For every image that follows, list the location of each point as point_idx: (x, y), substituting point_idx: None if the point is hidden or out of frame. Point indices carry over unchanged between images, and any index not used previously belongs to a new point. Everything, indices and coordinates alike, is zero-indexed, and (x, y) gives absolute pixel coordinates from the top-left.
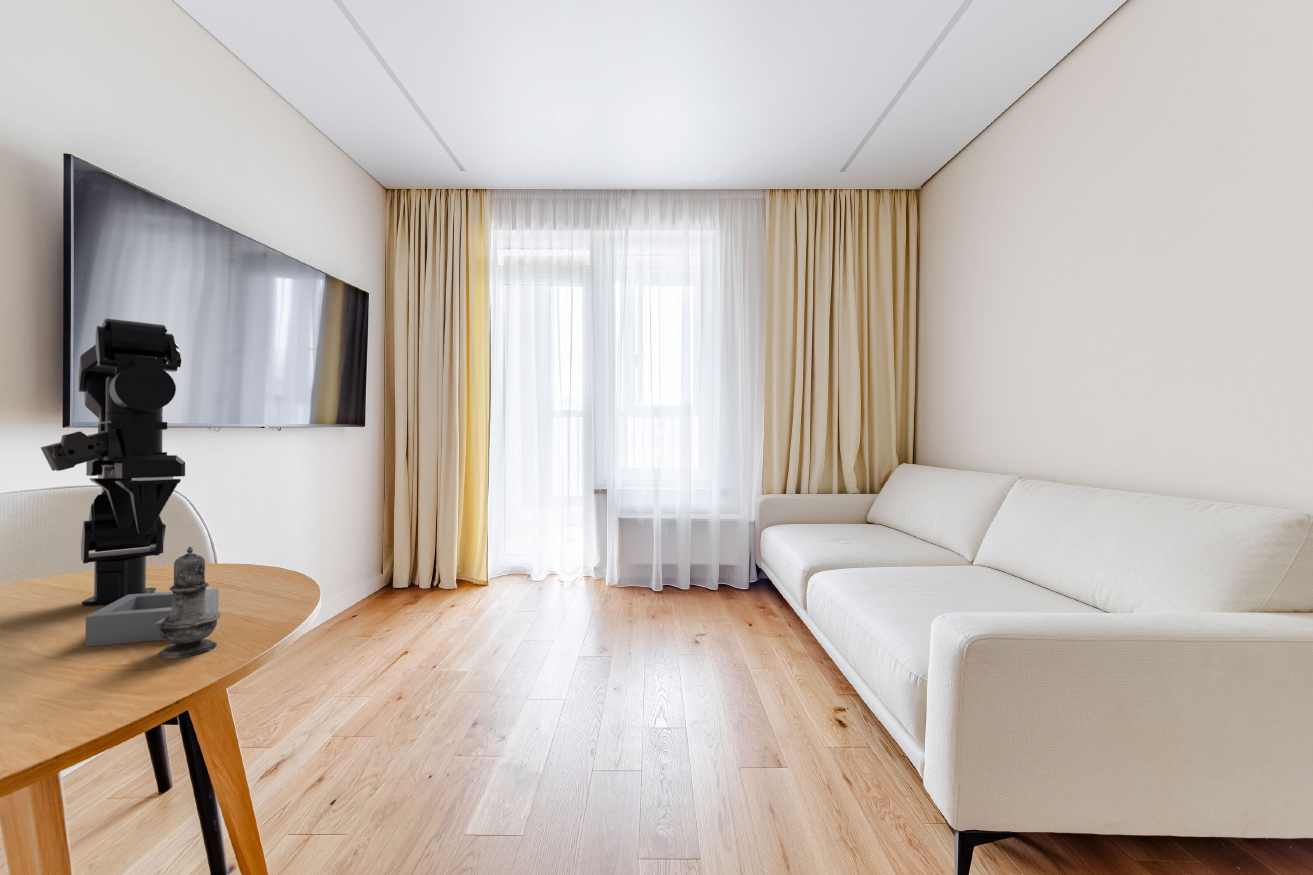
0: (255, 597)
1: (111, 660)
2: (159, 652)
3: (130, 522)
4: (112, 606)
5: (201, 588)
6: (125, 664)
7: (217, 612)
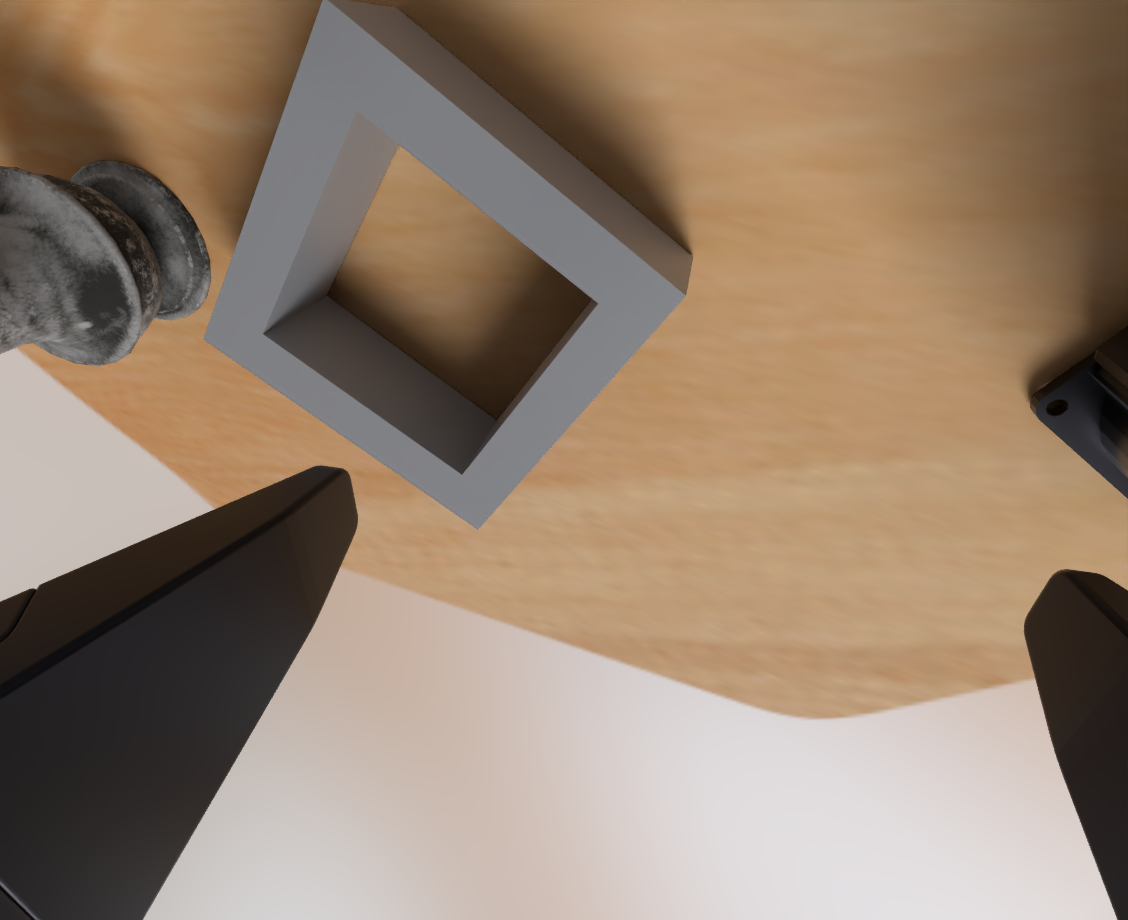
0: (629, 615)
1: (150, 32)
2: (135, 171)
3: (1035, 676)
4: (466, 158)
5: None
6: (80, 54)
7: (90, 364)
